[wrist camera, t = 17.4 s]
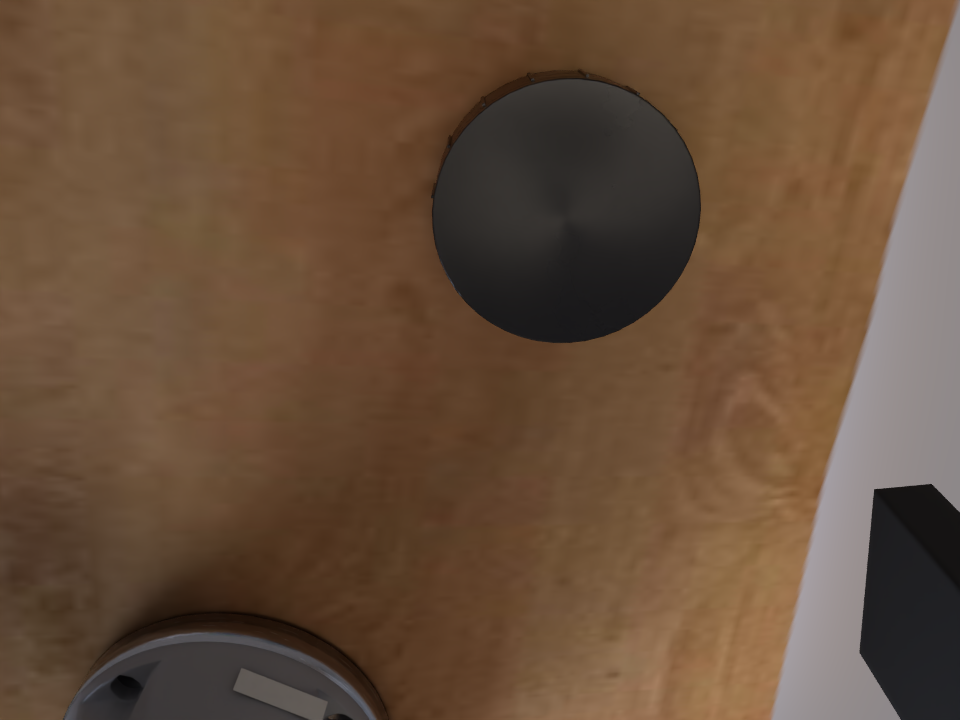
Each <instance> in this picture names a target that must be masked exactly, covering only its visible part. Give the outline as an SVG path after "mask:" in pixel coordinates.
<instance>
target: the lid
mask: <svg viewBox="0 0 960 720" xmlns="http://www.w3.org/2000/svg"><path fill="white" fill-rule="evenodd" d="M639 94H640V93H638V92H637V91H635V90H633V89H631V88H630V87H628V86H626V88H625V87H623V86H621V85H620V84H618V83H615V82H613V81H611V80H608V79H606V78H604V77H600V76H597V75H593V74H590V73H586V72H584V71H583V70H581V69H579V70H578V71H548V72H541V73H535V74H532V75H531V74H530V73H527V76H525V77H521V78H519V79H516V80H514V81H512V82H510V83H507V84H505V85H503V86H502V87H500V88H498V89H497V90H495V91H493V92H492V93H490V94H489V95H488V96H486V97H485V98H484V96H483V97H481V101H480V102H479V103H478V104H476V106H475V107H474V108H473V109H472V110H471V111H470V112H469V113H468V114H467V115H466V116H465V117H464V119H463V120H462V121H461V123H460V124H459V125H458V127H457V128H456V130H455V131H454V133H453V135H452V136H450V135H449V137H448V143H447V146H446V149H445V151H444V154H443V157H442V159H441V163H440V167H439V171H438V175H437V180H436V183H434V185H433V190H432V196H431V198H433V207H432V223H433V233H434V239H435V245H436V249H437V252H438V255H439V259H440V261H441V264H442V266H443V268H444V270H445V273H446V275H447V277H448V278H449V280H450V282H451V283H452V285H453V286H454V288H455V290H456V291H457V292H458V293H459V295H460V296H461V297H462V298H463V299H464V301H465V302H466V303H467V304H468V305H469V306H470V307H471V308H472V309H473V310H475V311H476V312H477V313H478V314H479V315H480V316H482V317H483V318H485V319H486V320H487V321H489V322H490V323H492V324H494V325H495V326H497V327H499V328H501V329H503V330H505V331H507V332H509V333H512V334H515V335H517V336H520V337H523V338H527V339H531V340H535V341H542V342H551V343H572V342H580V341H587V340H591V339H595V338H599V337H603V336H605V335H608V334H611V333H613V332H616V331H618V330H620V329H622V328H624V327H626V326H628V325H630V324H632V323H634V322H635V321H636V320H638V319H639V318H641V317H642V316H644V315H645V314H647V313H648V312H649V311H650V310H651V309H652V308H654V307H655V306H656V305H657V304H658V303H659V302H660V301H661V300H662V299H663V298H664V297H665V296H666V294H667V293H668V292H669V291H670V290H671V289H672V287H673V286H674V284H675V283H676V282H677V280H678V279H679V277H680V276H681V274H682V272H683V270H684V268H685V267H686V265H687V263H688V261H689V259H690V256H691V253H692V251H693V248H694V245H695V242H696V238H697V233H698V229H699V222H700V212H701V201H700V188H699V182H698V176H697V172H696V169H695V166H694V163H693V160H692V157H691V155H690V153H689V151H688V149H687V146H686V144H685V142H684V141H683V139H682V138H681V136H680V135H679V133H678V132H677V129H676V128H675V127H674V126H673V125H672V124H671V123H670V122H669V120H668V119H667V118H666V117H665V116H664V115H663V114H662V113H661V112H660V111H659V110H657V109H656V108H655V107H654V106H653V105H651V104H650V103H649V102H648V101H646V100H644V99H643V98H641V97H640V96H639Z"/></svg>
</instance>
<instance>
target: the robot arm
mask: <svg viewBox="0 0 960 720" xmlns="http://www.w3.org/2000/svg"><path fill="white" fill-rule="evenodd" d="M863 609H864V610H863V619H862V631H861V642H860V654H861V656H862V657H863V659H864V661H865V662H866V664H867V665H868V667H869V669H870V670H871V672H872V673H873V675H874V677H875V678H876V680H877V682H878V683H879V685H880V686H881V688H882V690H883V691H884V693H885V695H886V696H887V698H888V699H889V701H890V702H891V704H892V706H893V707H894V709H895V711H896V712H897V714H898V715H899V717H900V719H901V720H960V512H959V511H958V510H956V508H955V507H954V506H953V505H952V504H951V503H950V502H949V501H948V500H947V499H946V498H945V497H944V496H943V495H942V494H941V493H940V492H939V491H938V490H937V489H936V488H935V487H934V486H933V485H932V484H927V485H917V486H905V487H895V488H884V489H874V498H873V509H872V519H871V531H870V542H869V553H868V564H867V575H866V587H865V597H864V608H863ZM63 720H388V717H387V714H386V711H385V708H384V706H383V704H382V702H381V699H380V697H379V696H378V694H377V692H376V691H375V689H374V688H373V686H372V685H371V683H370V682H369V681H368V680H367V678H366V677H365V676H364V675H363V673H362V672H361V671H360V670H359V669H358V668H357V667H356V666H355V665H354V664H353V663H352V662H350V661H349V660H348V659H347V658H346V657H345V656H344V655H342V654H341V653H339V652H338V651H337V650H335V649H334V648H333V647H331V646H329V645H328V644H326V643H324V642H323V641H321V640H320V639H318V638H316V637H314V636H312V635H310V634H308V633H306V632H304V631H301V630H299V629H296V628H294V627H291V626H288V625H285V624H282V623H279V622H276V621H272V620H268V619H263V618H259V617H253V616H246V615H239V614H224V613H216V614H197V615H188V616H182V617H177V618H172V619H168V620H165V621H161V622H158V623H155V624H152V625H150V626H147V627H144V628H142V629H140V630H138V631H136V632H134V633H132V634H130V635H128V636H127V637H125V638H124V639H122V640H120V641H119V642H117V643H116V644H115V645H114V646H112V647H111V648H110V649H108V650H107V651H106V652H105V653H104V654H103V655H102V656H101V657H100V658H99V659H98V660H97V662H96V663H95V664H94V665H93V667H92V668H91V669H90V671H89V673H88V674H87V676H86V677H85V679H84V681H83V683H82V684H81V686H80V688H79V690H78V691H77V693H76V695H75V697H74V698H73V700H72V702H71V704H70V705H69V707H68V709H67V712H66V714H65V716H64V718H63Z"/></svg>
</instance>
